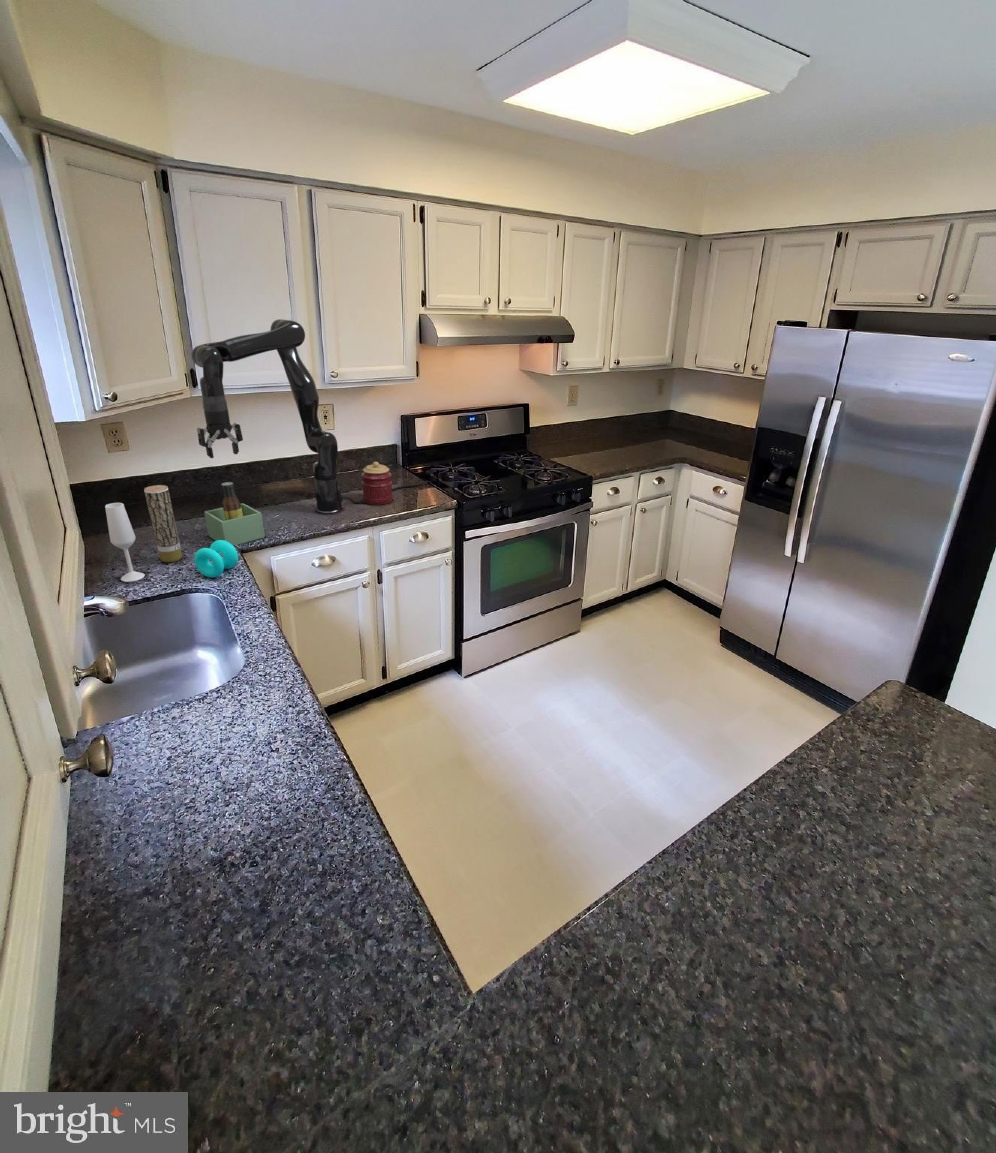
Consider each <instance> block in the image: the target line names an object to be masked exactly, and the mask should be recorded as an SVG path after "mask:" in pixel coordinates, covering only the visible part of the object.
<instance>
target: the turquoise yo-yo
mask: <svg viewBox="0 0 996 1153" xmlns="http://www.w3.org/2000/svg"><path fill="white" fill-rule="evenodd" d="M222 555H223V556H222ZM193 561H194V565H195V567H196V569H197V570H198V572H199V573H201V574H202V575H203V576H205V577H206V578H218V577H219V576H221V575H222V574H223V572H224V570H225V569H226V570H230V569H232V568H234V567H236V565H237V564H238V561H239V553H238V551H237V549H236V547H235V545H234V546H233V545H232V544H230V543H229V542H227V541H224V540H217V541H216V540H214V541H213V542H212V543H211V544H210V546H209V547H202V548H200V549H198V550H197V551H196V552H195V554H194V558H193Z"/></svg>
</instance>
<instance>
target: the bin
mask: <svg viewBox="0 0 996 1153" xmlns="http://www.w3.org/2000/svg"><path fill="white" fill-rule="evenodd" d="M240 504H241V508H242V513H243V517H239V518H235V519H231V520H227V521H225V516H224V511H223V507H219V508H214V509H209V510H206V511H204V517H205V522H206V528H207V533H208V537H209V538H211V539H212V540H214V541H217V540H224V541H227V542H229V543H230V544H232V545H233V546H234V547H235V546H237V545H241V544H244V543H249V542H253V541H256V540H260V539H264V538H265V537H266V536H265V529H264V521H263V515H262V512H260V511H258V510H256V509H254V508H253V507H251V506H249V505H247V504H245V503H240Z"/></svg>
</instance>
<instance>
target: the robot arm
mask: <svg viewBox="0 0 996 1153" xmlns="http://www.w3.org/2000/svg"><path fill="white" fill-rule="evenodd" d="M305 339H306V331H305V328H304V327H303V326H302V325H301V324H300V323H299V322H298V321H295V320H292V319H283V318H279V319H275V320H274V321H272V323H271V325H270V330H268V331H264V332H257V333H248V334H243V335H238V336H234V337H231V338H227V339H224V340H221V341H214V342H207V343H202V344H199V345H196V346H195V347H194V348H193V349H192V350H191V353H190V357H191V360H192V362H193V363H194V364H195V365H196V366H198V367H199V368H202V377H200V379H199V386H200V392H201V403H202V409H203V414H204V420H205V424H206V427H203V428H202V427H197V429H196V431H197V439H198V440H197V441H198V445H199V446H200V447H203V448H204V447H205V451H206V452H205V453H206V455H207V457H209V458H210V459H214V458H215V456H214V452H213V451H214V450H213V447H212V446H213V445H214V443H215V442H216V440H222V439H223V440H225V439H229V441H231V447H232V453H233V455H238V454H239V451H240V449H239V448H240V447H239V443H240V442H243V441H244V437H243V434H242V433H243V432H242V429H241V424H239V423H236V422H234V423H232V424H231V420H230V413H229V407H228V401H227V398H226V394H225V387H224V383H223V379H224V363H226V362H227V363H232V362H238V361H240V360H244V359H248V358H250V357H254V356H257V355H260V354H263V353H267V352H271V351H277V354H278V356H279V359H280V361H281V364H282V366H283V369H284V373H285V375H286V378H287V381H288V384H289V387H290V391H291V394H292V396H293V400H294V402H295V405H296V408H297V411H298V415H299V418H300V421H301V425H302V428H303V433H304V439H305V443H306V445H307V447H308V449H309V450H310V451H311V452H313V453H315V454H317V461H316V462H314V463H313V464H312V470H313V479H314V489H315V490H314V491H315V502H316V511H317V513H320V514H327V515H330V514H336V513H338V512H340V511H342V510H343V503H342V502H344V500H348V501H350V502H351V503H353V504H366V503H365V501H364V500H362V501H359V500H358V501H357V500H354V499H352V498H350V497H348V496H344V495H342V492H341V490H342V489H341V487H339V481H338V469H337V468H338V467H337V466H338V463H339V451H338V450H339V449H338V446H339V445H338V440H337V438H336V436H335V435H334V434H333V433H331V432H330V431H326V430H323V428H322V425H321V423H320V420H319V414H318V412H319V411H318V410H319V404H320V395H319V392H318V389H317V384H316V382H315V380H314V377H313V375H312V374H311V372H310V371H309V369H308V368H307V367H306V365H305V363H304V362H303V360H302V359H301V357H300V355H299V352H298V348H299V347H300V346H302V344H303V343H305ZM232 430H233V431H234V433H235V436H234V435H233V434H232V433H231V432H232ZM206 433H207V434H208V436H207V437H206V436H205V435H206ZM429 481H430V480H424V481H421V482H420V483H423V484H426V483H425V482H428V483H427V484H430V485H433V483H432V482H431V481H430V482H429ZM416 484H417V485H414V484H406V485H407V486H405V485H400V486H401V487H399V486H396V487H397V488H395V487H393V488H394V489H393V488H392V492H393V491H395V490H399V489H403V488H413V487H418V486H421V485H423V484H419V483H416Z"/></svg>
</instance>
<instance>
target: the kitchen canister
mask: <svg viewBox="0 0 996 1153" xmlns="http://www.w3.org/2000/svg"><path fill="white" fill-rule="evenodd" d="M360 475H361V478H362V481H361V486H362V501H365V503H364V504H367V505H371V506H378V505H379V506H381V505H386V504H389V503H391V502H392V501H393V498H394V497H393V491H392V489H393V485H392V484H393V481H392V479H391V477H392V472H390V468H389V467H387V466H386V465H384V464H380V463H379V462H378V461H373V462H372V464H368V465H366V466H365V467H364V468H363V469H362V473H361V474H360Z"/></svg>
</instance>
